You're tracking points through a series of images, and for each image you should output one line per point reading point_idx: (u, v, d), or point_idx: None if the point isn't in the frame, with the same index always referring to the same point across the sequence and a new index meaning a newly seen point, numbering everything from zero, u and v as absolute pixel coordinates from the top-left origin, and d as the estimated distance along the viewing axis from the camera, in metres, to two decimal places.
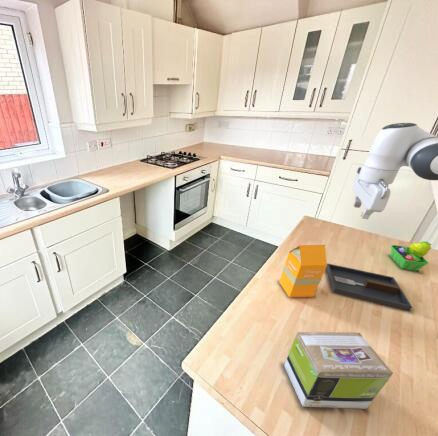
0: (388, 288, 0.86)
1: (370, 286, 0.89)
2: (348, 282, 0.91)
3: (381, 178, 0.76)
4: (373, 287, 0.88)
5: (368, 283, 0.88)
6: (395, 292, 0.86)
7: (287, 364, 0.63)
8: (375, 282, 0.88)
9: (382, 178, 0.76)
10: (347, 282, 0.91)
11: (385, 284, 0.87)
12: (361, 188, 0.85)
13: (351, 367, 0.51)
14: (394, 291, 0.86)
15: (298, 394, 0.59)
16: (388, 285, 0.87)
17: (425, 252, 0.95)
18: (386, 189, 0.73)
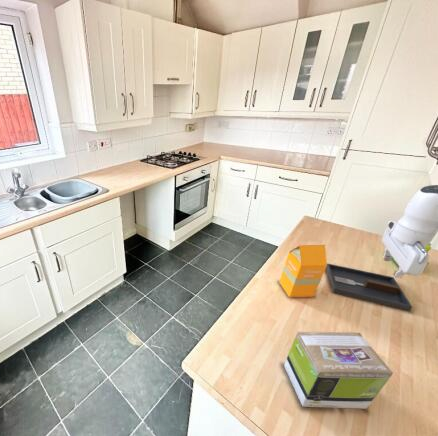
0: (388, 288, 0.86)
1: (370, 286, 0.89)
2: (348, 282, 0.91)
3: (418, 240, 0.74)
4: (373, 287, 0.88)
5: (368, 283, 0.88)
6: (395, 292, 0.86)
7: (287, 364, 0.63)
8: (375, 282, 0.88)
9: (419, 240, 0.74)
10: (347, 282, 0.91)
11: (385, 284, 0.87)
12: (393, 244, 0.82)
13: (351, 367, 0.51)
14: (394, 291, 0.86)
15: (298, 394, 0.59)
16: (388, 285, 0.87)
17: None
18: (425, 255, 0.70)
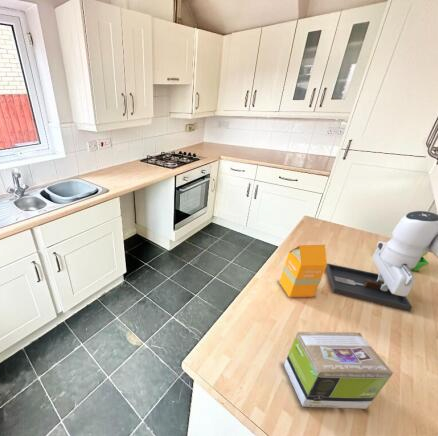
0: None
1: (370, 286, 0.89)
2: (348, 282, 0.91)
3: (404, 263, 0.78)
4: (373, 287, 0.88)
5: (368, 283, 0.88)
6: None
7: (287, 364, 0.63)
8: (375, 282, 0.88)
9: (405, 263, 0.78)
10: (347, 282, 0.91)
11: None
12: (382, 264, 0.86)
13: (351, 367, 0.51)
14: None
15: (298, 394, 0.59)
16: None
17: (425, 252, 0.95)
18: (410, 278, 0.74)
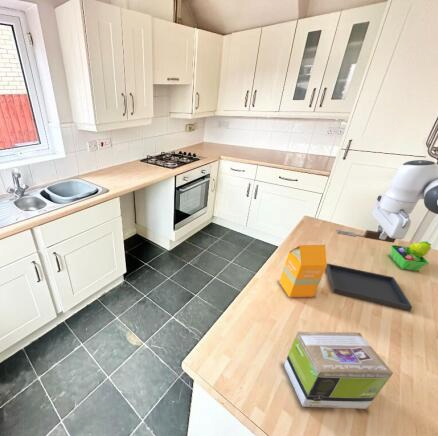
0: None
1: (370, 236, 0.95)
2: (349, 234, 0.98)
3: (401, 208, 0.84)
4: (372, 237, 0.95)
5: (368, 233, 0.95)
6: (393, 240, 0.93)
7: (287, 364, 0.63)
8: (374, 232, 0.95)
9: (402, 208, 0.84)
10: (348, 234, 0.98)
11: None
12: (381, 215, 0.93)
13: (351, 367, 0.51)
14: (391, 239, 0.93)
15: (298, 394, 0.59)
16: None
17: (425, 252, 0.95)
18: (407, 220, 0.81)
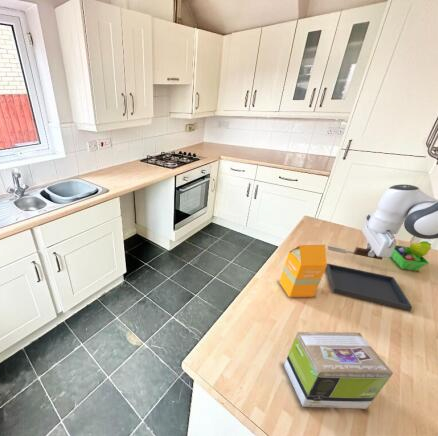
0: None
1: (359, 253, 1.01)
2: (340, 250, 1.04)
3: (388, 229, 0.90)
4: (362, 254, 1.00)
5: (357, 250, 1.01)
6: (381, 258, 0.98)
7: (287, 364, 0.63)
8: (363, 249, 1.00)
9: (389, 229, 0.90)
10: (339, 250, 1.04)
11: None
12: (370, 233, 0.98)
13: (351, 367, 0.51)
14: None
15: (298, 394, 0.59)
16: None
17: (425, 252, 0.95)
18: (392, 241, 0.86)
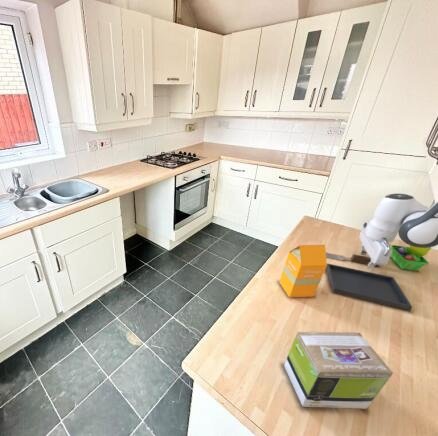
0: None
1: (356, 260, 1.03)
2: (337, 257, 1.05)
3: (384, 237, 0.92)
4: (358, 261, 1.02)
5: (354, 257, 1.02)
6: (377, 265, 1.00)
7: (287, 364, 0.63)
8: (360, 256, 1.02)
9: (385, 237, 0.91)
10: (336, 257, 1.05)
11: (368, 258, 1.01)
12: (367, 241, 1.00)
13: (351, 367, 0.51)
14: None
15: (298, 394, 0.59)
16: None
17: (425, 252, 0.95)
18: (388, 249, 0.88)
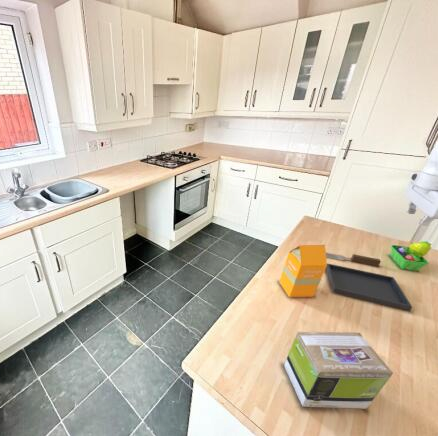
0: (371, 261, 1.00)
1: (356, 260, 1.03)
2: (337, 257, 1.05)
3: None
4: (358, 261, 1.02)
5: (354, 257, 1.02)
6: (377, 265, 1.00)
7: (287, 364, 0.63)
8: (360, 256, 1.02)
9: None
10: (336, 257, 1.05)
11: (368, 258, 1.01)
12: (417, 195, 0.85)
13: (351, 367, 0.51)
14: (376, 263, 1.00)
15: (298, 394, 0.59)
16: (371, 259, 1.00)
17: (425, 252, 0.95)
18: None
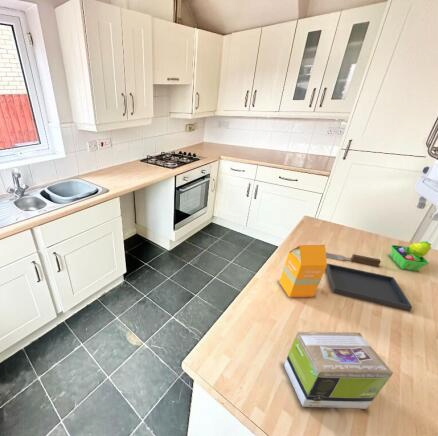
0: (371, 261, 1.00)
1: (356, 260, 1.03)
2: (337, 257, 1.05)
3: None
4: (358, 261, 1.02)
5: (354, 257, 1.02)
6: (377, 265, 1.00)
7: (287, 364, 0.63)
8: (360, 256, 1.02)
9: None
10: (336, 257, 1.05)
11: (368, 258, 1.01)
12: (428, 188, 0.82)
13: (351, 367, 0.51)
14: (376, 263, 1.00)
15: (298, 394, 0.59)
16: (371, 259, 1.00)
17: (425, 252, 0.95)
18: None
